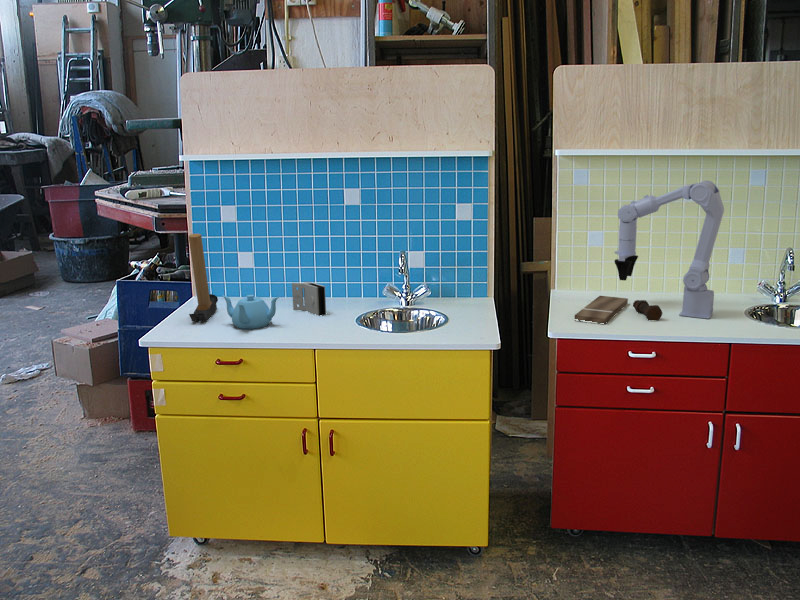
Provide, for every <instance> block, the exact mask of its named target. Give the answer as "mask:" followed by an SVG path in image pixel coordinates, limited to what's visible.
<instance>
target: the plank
mask: <svg viewBox="0 0 800 600" xmlns="http://www.w3.org/2000/svg"><path fill="white" fill-rule="evenodd" d="M628 301H629V298H626V297H618V296H607V295H599V296H597V297H596V298H595V299H593V300H592V301H591V302H590V303H588V304H587V305H586V306H584V307H583V308H581V310H580V311H578V312H577V313H576V314H574V319H578V320H585V321H592V322H598V323H604V324H605V323H606V322H607V321H608V322H609V321H611V320H612V319H613V318H614V317H615V316H616V315H617V314H618V313H619V312H621V311H622V310H623V309H624V308H625V307H626V306H627V305H628ZM623 307H624V308H623ZM622 308H623V309H622ZM616 313H617V314H616ZM615 314H616V315H615ZM614 315H615V316H614ZM613 316H614V317H613ZM612 317H613V318H612ZM611 318H612V319H611ZM610 319H611V320H610ZM608 322H607V323H608ZM607 323H606V324H607ZM606 324H605V325H606Z"/></svg>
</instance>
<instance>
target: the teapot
mask: <svg viewBox="0 0 800 600" xmlns="http://www.w3.org/2000/svg"><path fill="white" fill-rule="evenodd" d="M221 296H222V298H223V299H224V300H225V302H226V311H227V315H228V316H229V317H230V318H231V323H232V324H233V325H234V326H235V327H236V328H238V329H242V330H256V329H261V328H265V327H266V326H268V325H269V324H270V323H271V321H272V319H273V318H274V317H275V314H276V311H277V307H276V303H277V301H278V299H280V297H281V296H276V297H273V298H272V299H271V302H270V303H271V304H270V307H269V306H268V304H267V302H265V300H264V299H263V298H261V297H260V296H255V295H254V294H247V295H246V296H245V297H244V298H240V299H239V300H238V302H237V303H236V305H235V306H234V307H233V305H232V301H231V299H230V297H229V296H227V295H224V294H221Z"/></svg>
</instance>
